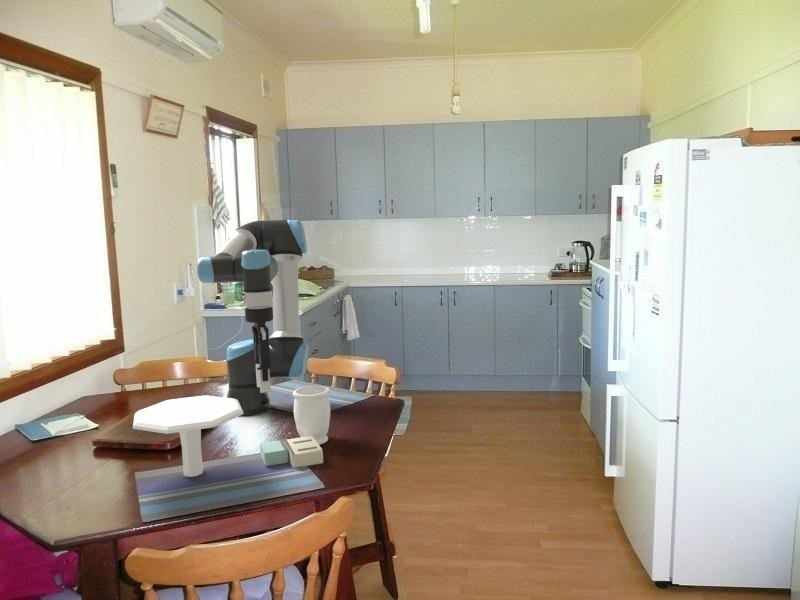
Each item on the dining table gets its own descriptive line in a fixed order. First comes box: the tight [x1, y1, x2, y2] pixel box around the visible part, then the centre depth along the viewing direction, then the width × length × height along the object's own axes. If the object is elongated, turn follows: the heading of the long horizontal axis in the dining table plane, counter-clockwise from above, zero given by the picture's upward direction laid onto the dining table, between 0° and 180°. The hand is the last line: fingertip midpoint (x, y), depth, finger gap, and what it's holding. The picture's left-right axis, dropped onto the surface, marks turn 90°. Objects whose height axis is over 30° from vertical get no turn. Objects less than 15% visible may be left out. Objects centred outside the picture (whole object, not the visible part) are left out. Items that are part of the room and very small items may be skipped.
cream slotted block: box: [283, 436, 324, 469], centre depth 170 cm, size 12×8×4 cm, turn 21°
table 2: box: [132, 394, 244, 478], centre depth 161 cm, size 28×28×17 cm
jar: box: [292, 385, 331, 446], centre depth 182 cm, size 11×10×15 cm
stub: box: [259, 439, 289, 467], centre depth 170 cm, size 8×6×4 cm
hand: (263, 389), depth 177 cm, fingers open, 6 cm apart
